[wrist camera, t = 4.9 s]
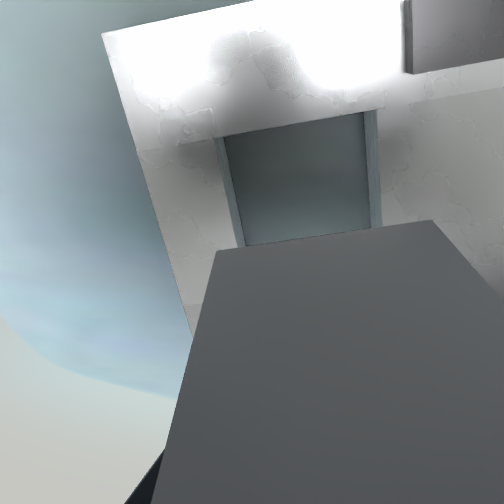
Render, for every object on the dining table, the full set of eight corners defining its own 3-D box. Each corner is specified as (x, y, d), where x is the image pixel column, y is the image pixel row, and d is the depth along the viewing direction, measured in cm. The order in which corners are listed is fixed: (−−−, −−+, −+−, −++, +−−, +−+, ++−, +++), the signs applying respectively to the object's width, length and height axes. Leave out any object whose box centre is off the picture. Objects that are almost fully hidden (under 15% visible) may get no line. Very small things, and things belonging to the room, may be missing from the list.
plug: (431, 417, 10) (662, 972, 4) (260, 433, 10) (245, 953, 4) (431, 219, 8) (940, 799, 2) (215, 250, 8) (75, 792, 2)
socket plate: (479, 307, 20) (514, 352, 17) (210, 340, 22) (201, 386, 19) (502, -47, 14) (561, -68, 11) (124, 33, 16) (91, 33, 13)
